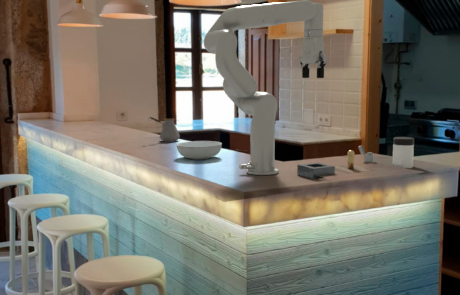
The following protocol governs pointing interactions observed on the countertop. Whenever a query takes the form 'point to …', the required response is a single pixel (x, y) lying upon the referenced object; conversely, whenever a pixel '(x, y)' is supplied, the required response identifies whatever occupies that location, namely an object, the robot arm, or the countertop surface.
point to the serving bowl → (199, 149)
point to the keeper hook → (350, 159)
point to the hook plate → (356, 169)
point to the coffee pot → (168, 130)
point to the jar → (403, 151)
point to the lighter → (367, 155)
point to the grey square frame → (315, 170)
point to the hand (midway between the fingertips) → (312, 77)
